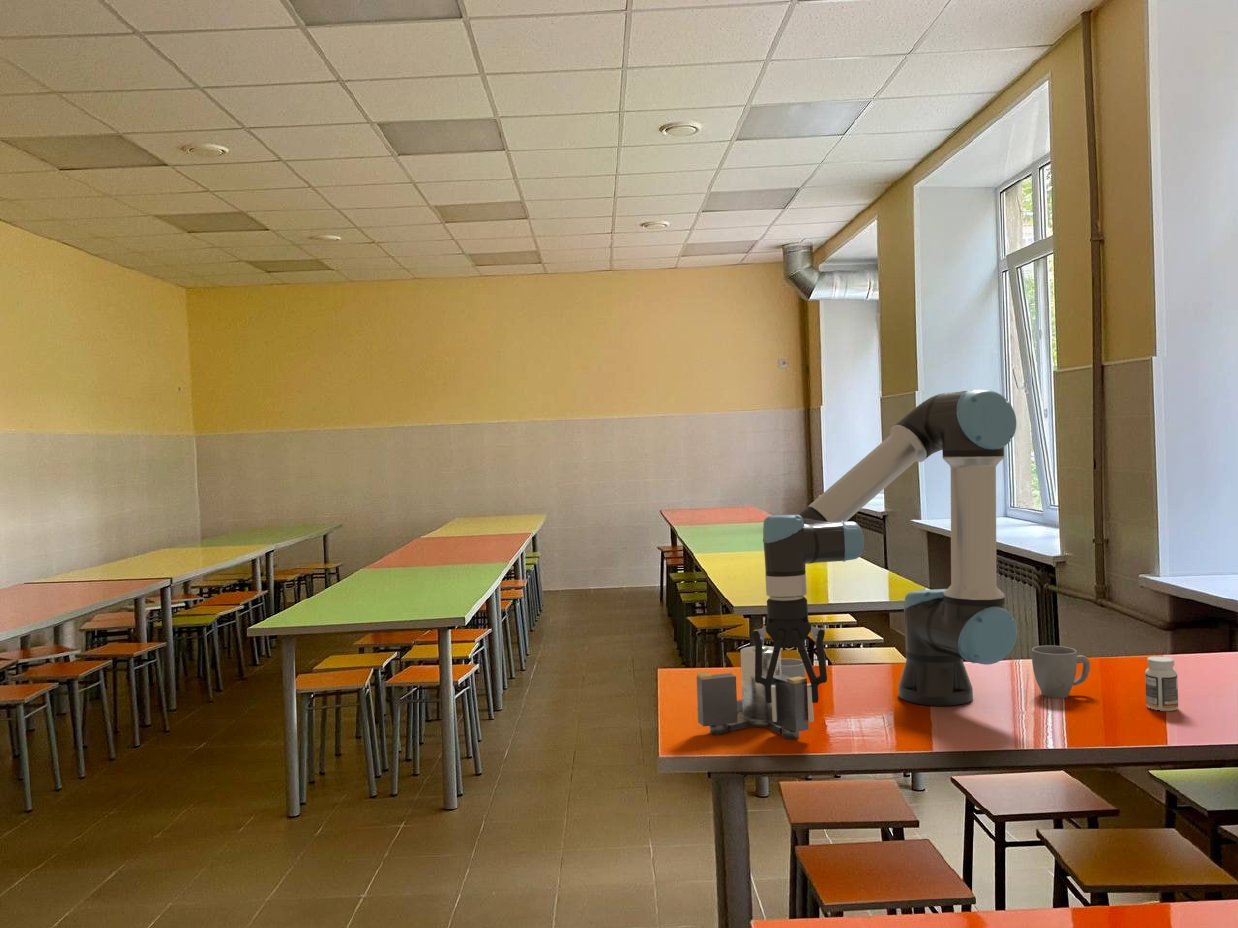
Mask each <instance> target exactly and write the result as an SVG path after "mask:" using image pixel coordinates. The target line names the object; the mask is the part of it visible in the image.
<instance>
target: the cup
mask: <svg viewBox="0 0 1238 928" xmlns="http://www.w3.org/2000/svg"><path fill="white" fill-rule="evenodd" d="M781 673H782V675H786V676H790V677H799V676H800V677H804V678H807V677H806V669H805V667H804V664H803V661H802V659H800V658H799V659H798V658H781Z"/></svg>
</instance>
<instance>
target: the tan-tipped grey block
mask: <svg viewBox="0 0 1238 928" xmlns="http://www.w3.org/2000/svg"><path fill="white" fill-rule="evenodd" d="M737 691H738V690H737V676H736V675H734V674H733V673H731V672H727V673H716V674H710V673H708V672H697V673H696V697H697V701H696V702H697V722H698V724H700V725H701V726H702V727H703V728H704V727H709V734H710V735H712V736H723V735H726V734H727V732H728V731H727V730H726V724H731V723H738V714H737V700H738V697H737V695H738V693H737Z"/></svg>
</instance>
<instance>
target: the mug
mask: <svg viewBox="0 0 1238 928" xmlns="http://www.w3.org/2000/svg"><path fill="white" fill-rule="evenodd" d="M1031 662H1032V669H1033V674H1034V678H1035V681H1036V684H1037V686H1038V687H1039V690H1040V693H1041V696H1042V697H1043V696H1044V697H1046V698H1050V699H1051V698H1052V699H1066V698H1068V697H1070V694H1071V691H1072V688H1073V687H1074V686H1078V685H1081V684H1083V683H1084V682H1086V681H1087V678H1088V677H1089V674H1090V671H1091V663H1090V660H1089V658H1088V657H1087V656H1085V655H1082V654H1079V655H1078V652H1077V650H1076V649H1075V648H1072V647H1068V646H1063V645H1062V646H1061V645H1037V646H1034V647H1032V648H1031ZM1078 664H1082V670H1081V673H1080V675H1079V676H1078V677H1077V679H1076V675H1077V670H1078Z"/></svg>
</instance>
